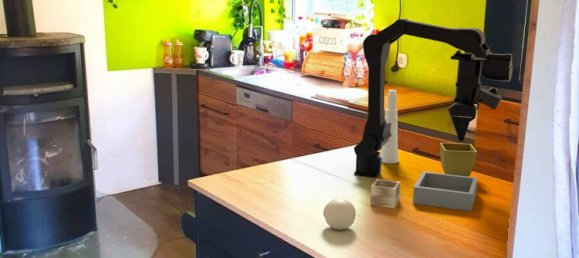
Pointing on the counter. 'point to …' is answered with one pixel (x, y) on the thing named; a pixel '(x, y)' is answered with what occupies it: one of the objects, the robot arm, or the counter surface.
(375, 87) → the robot arm
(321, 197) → the counter surface
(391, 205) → the small crate
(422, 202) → the big crate
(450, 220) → the counter surface
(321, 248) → the counter surface
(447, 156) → the flower pot
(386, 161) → the cosmetic bottle
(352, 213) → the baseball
